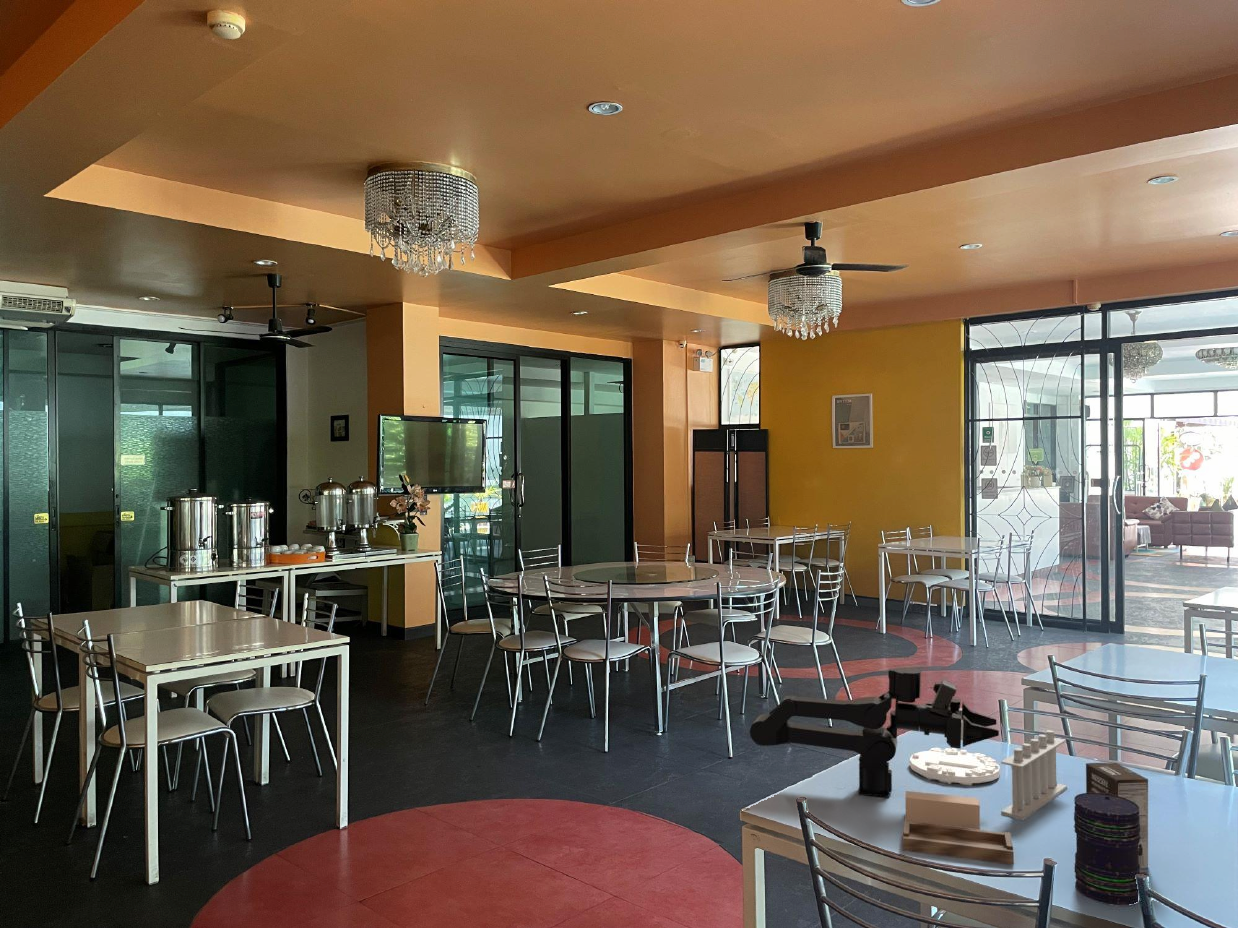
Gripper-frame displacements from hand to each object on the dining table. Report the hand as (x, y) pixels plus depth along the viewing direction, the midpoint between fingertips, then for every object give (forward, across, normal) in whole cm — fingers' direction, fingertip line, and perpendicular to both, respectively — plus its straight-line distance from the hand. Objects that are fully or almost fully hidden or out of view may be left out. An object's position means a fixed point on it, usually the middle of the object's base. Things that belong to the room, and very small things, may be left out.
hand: (997, 727), depth 188 cm
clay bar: (-11, -12, +17) cm, 24 cm away
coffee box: (+20, -20, +16) cm, 32 cm away
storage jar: (+16, -35, +17) cm, 42 cm away
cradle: (-8, -25, +17) cm, 31 cm away
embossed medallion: (-8, +21, +17) cm, 28 cm away
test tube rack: (+8, +6, +17) cm, 19 cm away
